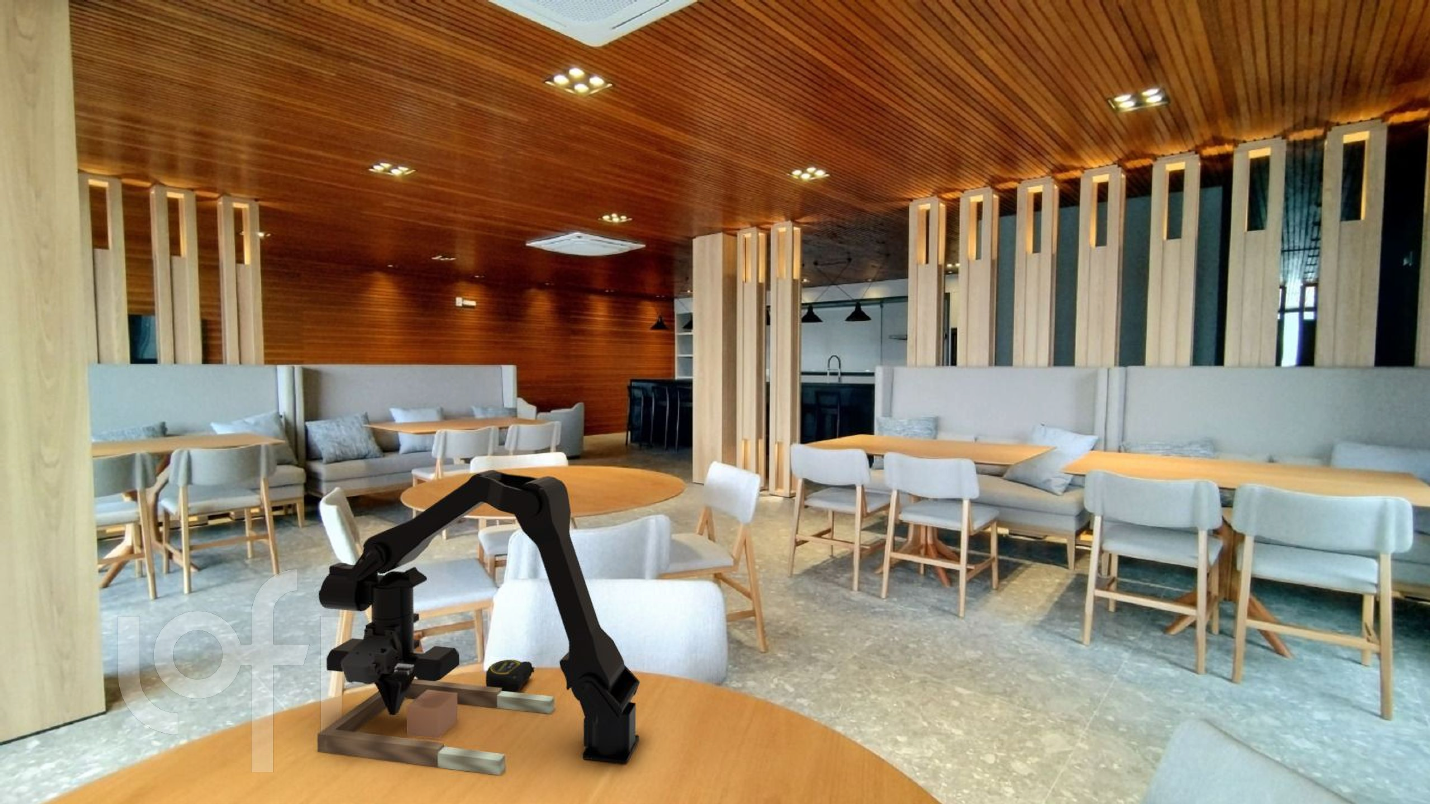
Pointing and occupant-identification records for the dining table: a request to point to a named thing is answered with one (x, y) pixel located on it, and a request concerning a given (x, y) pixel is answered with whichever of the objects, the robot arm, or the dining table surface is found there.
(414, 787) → the dining table surface
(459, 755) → the bay
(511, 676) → the tape measure
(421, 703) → the block
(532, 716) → the dining table surface
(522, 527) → the robot arm
